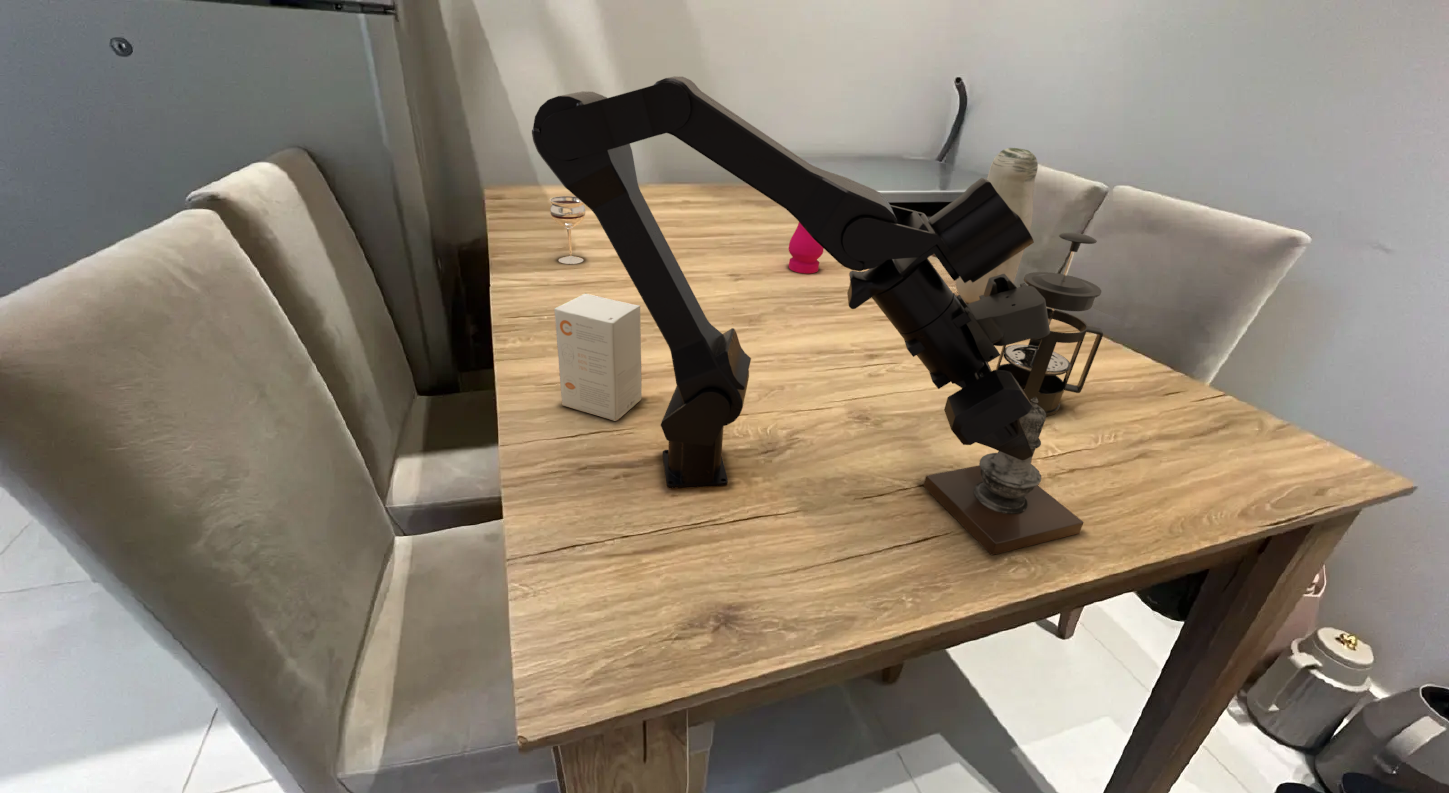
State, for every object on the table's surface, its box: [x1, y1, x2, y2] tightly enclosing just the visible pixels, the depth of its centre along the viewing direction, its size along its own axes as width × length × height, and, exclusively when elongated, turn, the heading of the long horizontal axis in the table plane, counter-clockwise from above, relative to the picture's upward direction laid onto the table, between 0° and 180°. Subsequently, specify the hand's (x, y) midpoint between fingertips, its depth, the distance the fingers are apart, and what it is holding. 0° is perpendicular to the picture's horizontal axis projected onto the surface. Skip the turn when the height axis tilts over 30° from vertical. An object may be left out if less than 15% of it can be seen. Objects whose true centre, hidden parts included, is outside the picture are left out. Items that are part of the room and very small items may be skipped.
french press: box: [995, 232, 1104, 417], centre depth 82 cm, size 12×9×23 cm
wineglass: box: [549, 195, 586, 265], centre depth 125 cm, size 7×7×12 cm
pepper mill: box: [788, 221, 824, 274], centre depth 127 cm, size 7×7×20 cm
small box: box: [553, 292, 643, 422], centre depth 76 cm, size 8×6×13 cm
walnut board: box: [923, 464, 1085, 556], centre depth 65 cm, size 11×11×2 cm
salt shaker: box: [974, 397, 1047, 514], centre depth 62 cm, size 6×6×12 cm
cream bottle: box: [955, 147, 1039, 304], centre depth 113 cm, size 10×10×28 cm
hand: (1013, 430), depth 61 cm, fingers open, 9 cm apart
